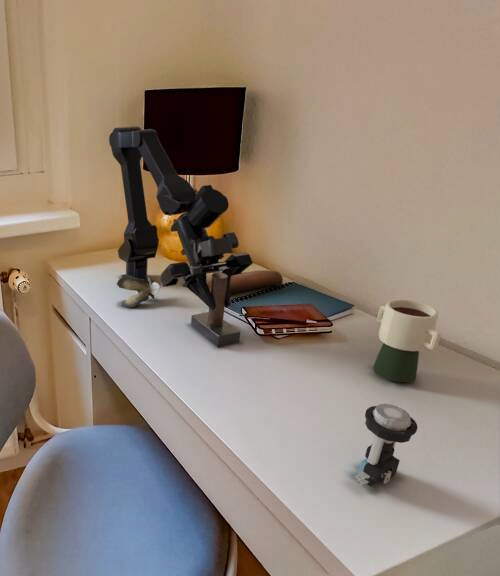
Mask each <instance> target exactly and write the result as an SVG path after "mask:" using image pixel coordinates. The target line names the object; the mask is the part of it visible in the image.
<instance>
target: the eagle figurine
mask: <svg viewBox="0 0 500 576" xmlns="http://www.w3.org/2000/svg"><path fill="white" fill-rule="evenodd" d="M148 277H149V278H148V280H149V282H148V283H147V282H146V281H145V280H144V279H138V278H135V277H133V276H125V277H120V278H119V279H118V280H117V282H116V286H117V287H118V288H119V289H123V290H127V291H136V293H135V294H134V295H131V296H130V297H128V298H127V299H124V300H122V301H121V302H120V306H121V307H123V308H134V307H136V306H138V305H140V304H141V303H144V302H147V301H148V300H149V299H150V297H151V299H152V300H155V296H157V295H158V294H159V292H160V291H161V286H160V284H159V283H158V282H156V281H154V280H153V279H152V278H151V276H148ZM150 278H151V279H152V280H151V279H150Z"/></svg>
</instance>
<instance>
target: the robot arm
mask: <svg viewBox="0 0 500 576" xmlns="http://www.w3.org/2000/svg"><path fill="white" fill-rule="evenodd" d="M108 143H109V146H110V148H111V153H112V156H113V158H114V159H115V160H116V162H117V163H118V164H119V165H120V171H121V178H122V185H123V193H124V199H125V208H126V213H127V214H126V215H127V225H126V228H125V230H124V232H123V243H121V245H120V246H119V248H118V249H117V255H118V258H119V259H120V260H122V261H123V262H125V274H121V277H125V276H133V277H135V278H138V279H144V280H145V281H146V282H147V283H148V284H149V280H148V278H149V277H150V276H149V275H148V267H149V266H148V265H149V259H155V258H156V256H157V251H158V249H159V245H160V244H159V243H160V242H159V241H160V239H159V236H158V227H157V226H156V224H152V223H151V222H150V220H149V219H148V212H147V211H148V210H147V203H146V195H145V189H144V181H143V175H142V166H141V161H142V159H143V162H144V163H145V165H146V167H147V169H148V171H149V173H150V175H151V177H152V179H153V181H154V183H155V185H156V188H157V191H156V199H157V203H158V205H159V208H160V211H161V212H162V213H163V214H164V216H169V217H171V216H176V215H179V216H178V217H177V218H174V219H173V222H172V224H171V226H170V232H172V233H174V232H175V233H177V235H178V238H179V241H180V244H181V246H182V249H181V251H180V253H181V256H182V257H183V256H185V257H186V260H187V262H188V263H187V262H186V261H181V262H180V261H179V262H174V263H173V262H172V263H169V264H168V265H167V267H166V268H164V269H163V271H162V272H161V274H160V277H159V278H160V282H161V285H162V287H163V288H168V287H173V286H176V285H177V284H178V283H179V279H183V283H182V285H181V286H182V287H181V288H187V290H188V291H190V292H191V293H192V294H194V295H195V296H196V297H198V298H199V300H201V301H202V303H204V304H205V305H206V306H207V307H208V309H209V308H210V309H211V310H214V309H215V303H214V300H213V298H212V295H211V292H210V290H209V287H208V285H207V283H208V282H207V274H214V273H223V274H226V275H227V276H228V279H227V288H226V298H225V308H229V307H230V306H231V294H230V279H231V276H233V275H238V274H240V273H244V271H246V270H247V269H248V268H249V267H251V266H252V265H253V264H254V261H253V260H252V256H251V254H249V253H247V252H240V253H239V252H238V253H234V251H233V250H234V249H238V247H239V245H240V244H239V238H238V236H237V234H236V232H234V231H231V232H226V233H223V234H222V236H221V237H218V238H215V237H214V235H209V233H208V231H207V229H208V228H210V227H211V226H212V225H214V223H216V221H218V220H219V219H220V218H221V216H223V214H225V212H227V211H228V209H229V205H230V204H229V203H230V202H229V199H228V198H227V196H226V195H224V193H222V192H221V191H219V190H217V189H215V188H213V186H212V184H206V185H205V184H203V185H202V186H201V187H200V188H199V190H198V192H196V190H195V189H194V187H193V186H192V185H191V183H190V182H189V181H188V179H185V178H183V177H182V176H180V175H179V174H178V173H177V172H176V169H175V168H174V166H173V164H172V162H171V160H170V159H169V156H168V154H167V153H166V151H165V149H164V147H163V146H162V144H161V142H160V140H159V134H158V132H157V131H156V130H155V129H153V128H148V129H142V128H141V127H140V126H138V125H137V126H136V125H135V126H121V127H119V126H118V127H114V128H113V130H112V132H111V133H110V134H109V137H108ZM233 253H234V254H233ZM225 254H230V255H229V256H228V257H227V258H226V259H225V260H224V261H223V260H222V259H223V258H224V257H225ZM219 260H222V261H219ZM121 277H120V278H121ZM150 279H151V280H152V281H153V279H152V278H151V277H150Z"/></svg>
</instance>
